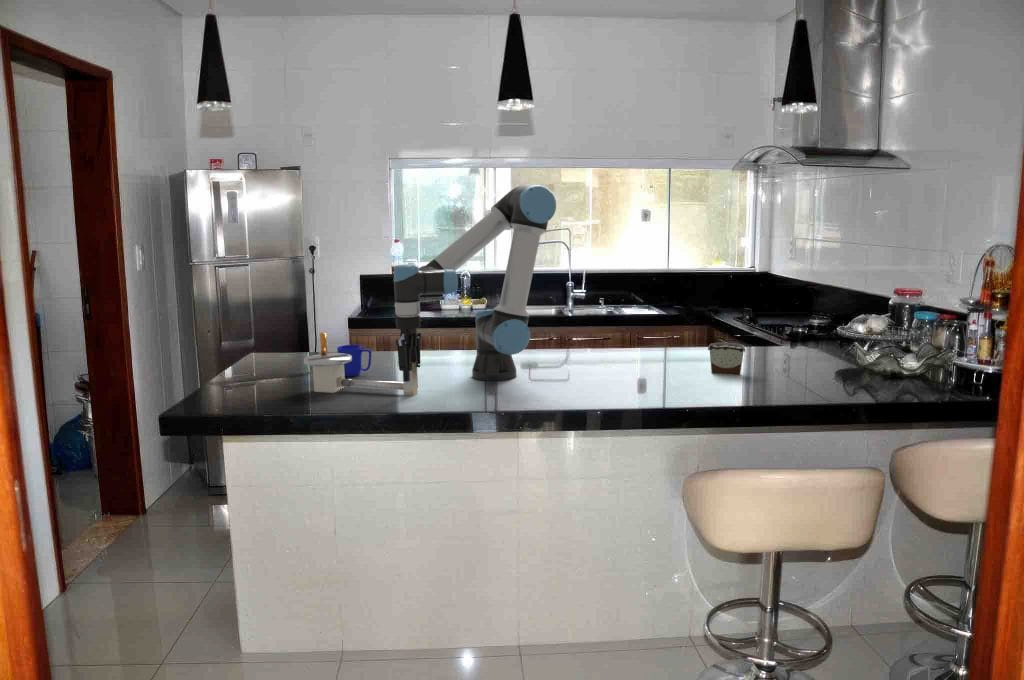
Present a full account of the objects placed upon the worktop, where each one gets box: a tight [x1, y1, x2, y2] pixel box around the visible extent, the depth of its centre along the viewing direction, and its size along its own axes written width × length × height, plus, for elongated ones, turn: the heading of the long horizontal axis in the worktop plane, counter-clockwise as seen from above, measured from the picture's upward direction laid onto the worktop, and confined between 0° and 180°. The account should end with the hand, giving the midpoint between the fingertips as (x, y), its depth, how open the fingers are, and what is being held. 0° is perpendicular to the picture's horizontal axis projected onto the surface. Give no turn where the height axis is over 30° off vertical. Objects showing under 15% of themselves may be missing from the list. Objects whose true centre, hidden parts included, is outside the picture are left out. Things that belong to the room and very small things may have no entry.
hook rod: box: [341, 362, 418, 397], centre depth 247 cm, size 25×3×10 cm, turn 73°
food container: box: [707, 342, 746, 377], centre depth 264 cm, size 12×6×10 cm, turn 65°
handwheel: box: [303, 332, 352, 367], centre depth 250 cm, size 15×15×8 cm
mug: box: [336, 344, 372, 377], centre depth 272 cm, size 8×12×10 cm
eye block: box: [312, 364, 346, 394], centre depth 252 cm, size 7×7×9 cm
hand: (411, 389), depth 244 cm, fingers closed on hook rod, 3 cm apart
